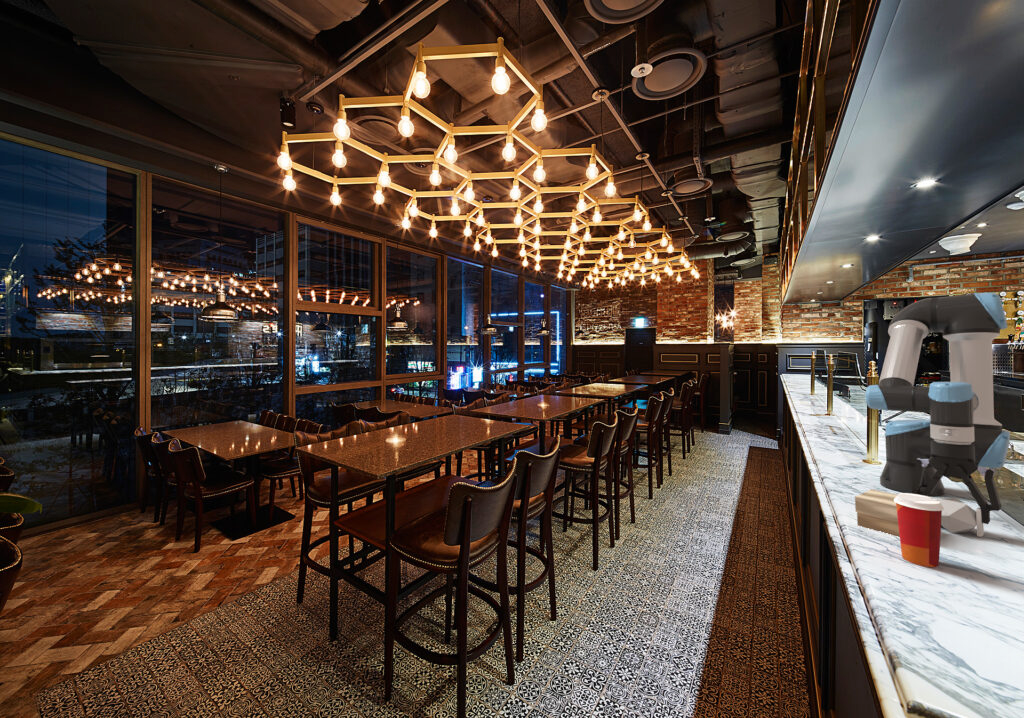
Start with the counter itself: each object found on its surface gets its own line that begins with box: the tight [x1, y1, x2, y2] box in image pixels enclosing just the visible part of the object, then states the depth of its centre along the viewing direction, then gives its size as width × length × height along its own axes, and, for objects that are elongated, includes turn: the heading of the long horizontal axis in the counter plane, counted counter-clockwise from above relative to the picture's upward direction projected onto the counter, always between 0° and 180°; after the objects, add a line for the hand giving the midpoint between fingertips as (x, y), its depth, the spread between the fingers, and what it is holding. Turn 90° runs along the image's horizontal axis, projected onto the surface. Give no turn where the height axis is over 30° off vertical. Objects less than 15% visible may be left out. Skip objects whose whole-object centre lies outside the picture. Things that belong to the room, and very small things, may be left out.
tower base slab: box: [856, 512, 900, 538], centre depth 101 cm, size 11×11×4 cm
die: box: [936, 497, 977, 534], centre depth 99 cm, size 8×9×10 cm
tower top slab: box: [854, 489, 898, 522], centre depth 102 cm, size 11×11×4 cm
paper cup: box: [894, 492, 944, 569], centre depth 85 cm, size 8×8×14 cm
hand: (954, 529), depth 99 cm, fingers closed on die, 8 cm apart
